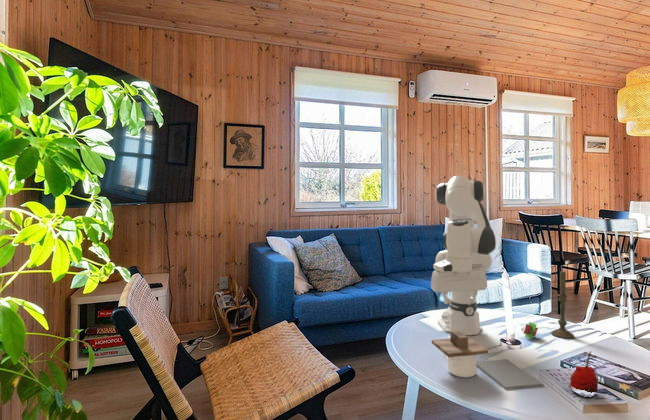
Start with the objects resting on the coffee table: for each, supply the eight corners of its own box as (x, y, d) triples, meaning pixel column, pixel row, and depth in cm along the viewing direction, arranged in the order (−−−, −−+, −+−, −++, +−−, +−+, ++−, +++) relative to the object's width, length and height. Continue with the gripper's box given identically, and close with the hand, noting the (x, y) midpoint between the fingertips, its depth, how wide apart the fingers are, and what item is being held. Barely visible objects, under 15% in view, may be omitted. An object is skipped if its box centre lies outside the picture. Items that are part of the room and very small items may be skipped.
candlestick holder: (579, 337, 173) (579, 271, 172) (564, 340, 169) (565, 272, 169) (560, 330, 181) (560, 267, 180) (546, 333, 178) (546, 269, 177)
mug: (436, 371, 140) (436, 347, 140) (450, 363, 147) (450, 339, 147) (468, 382, 132) (468, 356, 131) (480, 372, 139) (480, 348, 139)
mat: (473, 363, 146) (473, 361, 146) (506, 361, 148) (506, 359, 148) (505, 389, 127) (505, 387, 127) (543, 385, 129) (543, 383, 129)
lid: (431, 343, 144) (431, 329, 144) (468, 340, 146) (468, 326, 146) (448, 357, 131) (448, 342, 131) (488, 353, 134) (488, 339, 133)
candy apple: (589, 388, 126) (590, 344, 126) (603, 400, 119) (604, 352, 119) (565, 388, 127) (566, 343, 126) (578, 399, 120) (578, 352, 119)
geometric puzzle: (534, 329, 178) (525, 316, 176) (546, 334, 171) (537, 321, 170) (524, 339, 176) (515, 327, 175) (535, 345, 170) (526, 332, 168)
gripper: (480, 262, 143) (481, 299, 143) (429, 264, 140) (429, 302, 140) (490, 265, 136) (490, 303, 137) (436, 267, 133) (436, 306, 134)
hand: (459, 303), depth 138 cm, fingers open, 8 cm apart
